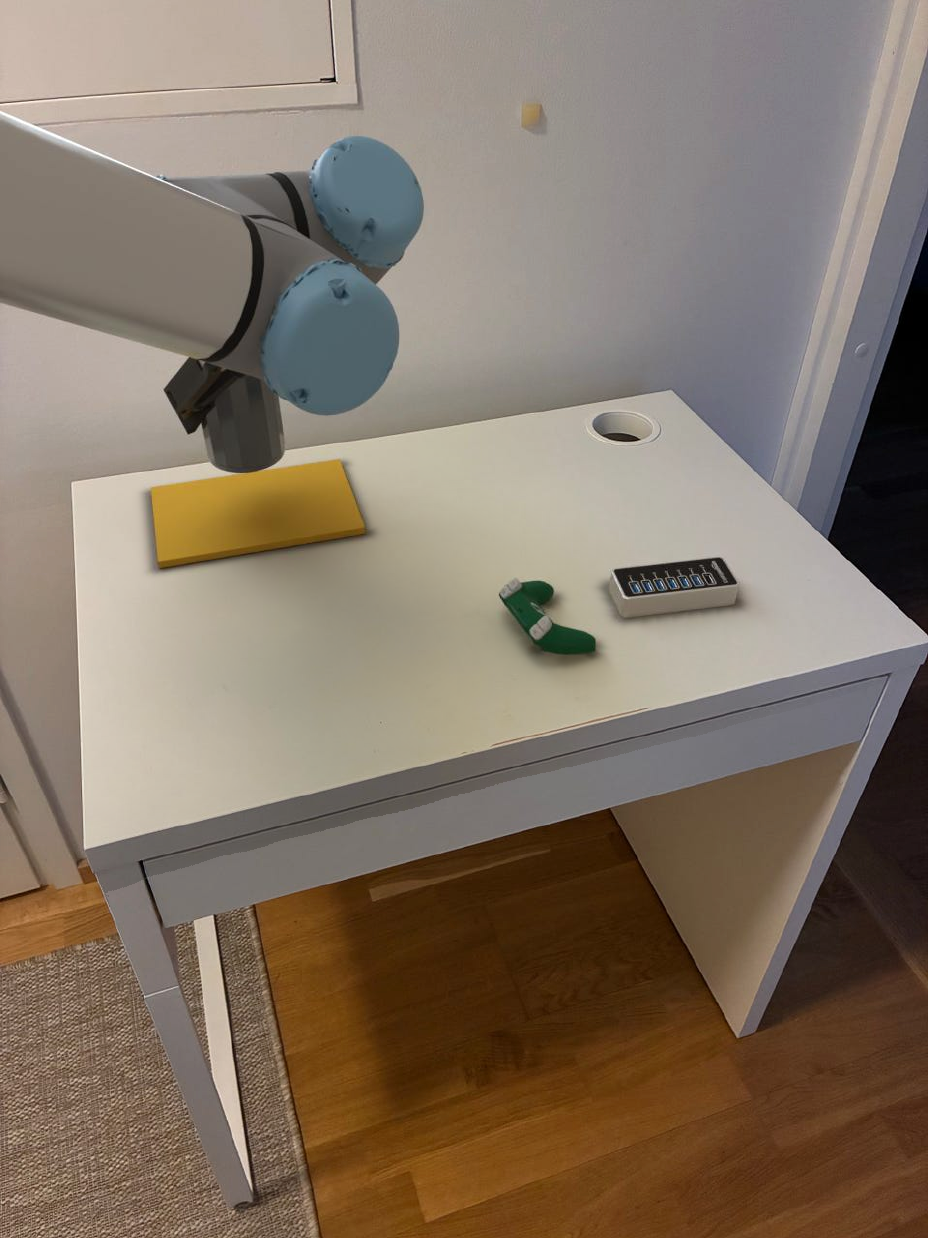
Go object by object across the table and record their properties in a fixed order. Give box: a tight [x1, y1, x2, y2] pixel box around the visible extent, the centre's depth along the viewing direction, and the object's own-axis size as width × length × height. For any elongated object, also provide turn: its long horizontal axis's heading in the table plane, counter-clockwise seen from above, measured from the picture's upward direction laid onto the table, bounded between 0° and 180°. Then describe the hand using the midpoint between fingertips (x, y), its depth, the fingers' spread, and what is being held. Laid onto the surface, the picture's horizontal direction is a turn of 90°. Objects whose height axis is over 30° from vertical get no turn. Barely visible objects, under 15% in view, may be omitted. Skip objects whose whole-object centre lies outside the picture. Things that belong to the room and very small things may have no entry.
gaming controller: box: [498, 577, 597, 656], centre depth 84 cm, size 9×4×6 cm
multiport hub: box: [608, 556, 740, 619], centre depth 88 cm, size 4×11×2 cm, turn 101°
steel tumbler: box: [200, 376, 286, 474], centre depth 90 cm, size 7×7×10 cm
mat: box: [150, 458, 367, 569], centre depth 98 cm, size 20×13×1 cm, turn 107°
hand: (222, 406), depth 93 cm, fingers closed on steel tumbler, 7 cm apart
